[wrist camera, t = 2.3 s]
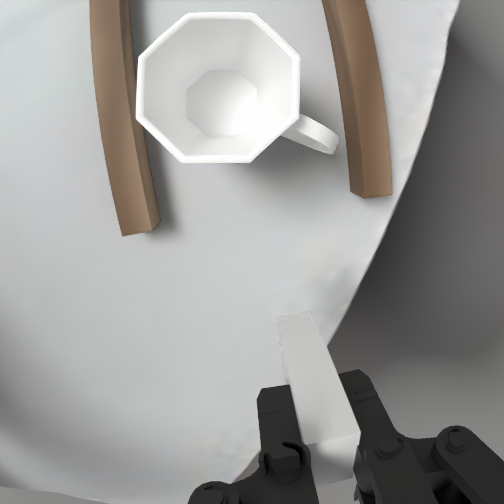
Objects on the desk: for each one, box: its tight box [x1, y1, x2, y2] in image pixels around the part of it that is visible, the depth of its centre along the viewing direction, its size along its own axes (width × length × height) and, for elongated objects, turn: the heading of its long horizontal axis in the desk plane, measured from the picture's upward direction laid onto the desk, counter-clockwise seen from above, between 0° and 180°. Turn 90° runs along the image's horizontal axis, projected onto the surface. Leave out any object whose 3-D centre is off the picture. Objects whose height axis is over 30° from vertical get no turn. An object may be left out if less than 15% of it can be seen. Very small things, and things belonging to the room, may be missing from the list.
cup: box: [136, 12, 340, 163], centre depth 15 cm, size 7×10×8 cm
